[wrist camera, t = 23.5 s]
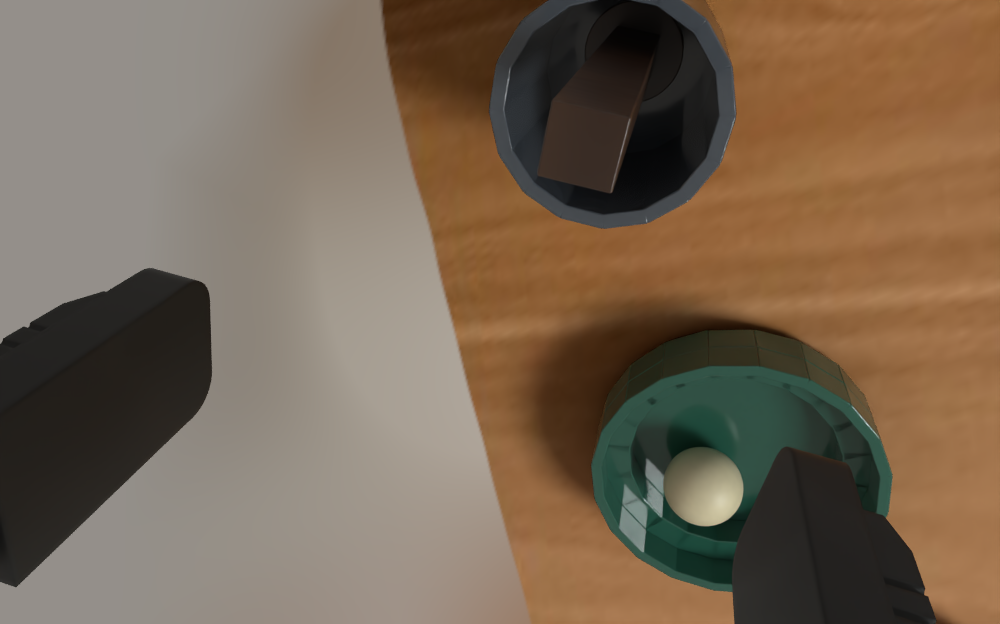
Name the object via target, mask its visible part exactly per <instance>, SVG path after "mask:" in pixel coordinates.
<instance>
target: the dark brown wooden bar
mask: <svg viewBox="0 0 1000 624" xmlns="http://www.w3.org/2000/svg"><path fill="white" fill-rule="evenodd" d="M683 51H684V40H683V34H682V31H681V28H680V25H679V23H678V21H676V20H675V19H674V18H672V17H671V16H670V15H668V14H667V13H666V12H664V11H663V10H662V9H660V8H659V7H657V6H654V5H649V4H644V3H640V2H635V1H630V0H625V1H622V2H619V3H617V4H615V5H614V6H612V7H610V8H609V9H608V10H607V11H605V12H604V13H603V14H602V15H601V16H600V17H599V18H598V19H597V20H596V22H595V23H594V24H593V26H592V28H591V30H590V32H589V34H588V37H587V41H586V45H585V63H584V64H583V65H582V67H581V68H580V69H579V70H578V71H577V72H576V73H575V75H574V76H573V77H572V78H571V79H570V80H569V81H568V83H567V84H566V85H565V86H564V87H563V88H562V89H561V91H560V92H559V93H558V94H557V95H556V96H555V97H554V98H553V100H552V102H551V107H550V112H549V117H548V122H547V127H546V131H545V136H544V141H543V146H542V151H541V156H540V161H539V166H538V171H537V175H538V176H541V177H545V178H549V179H553V180H557V181H561V182H565V183H569V184H573V185H577V186H582V187H586V188H590V189H594V190H598V191H602V192H606V193H612V192H613V189H614V186H615V183H616V180H617V177H618V174H619V171H620V168H621V165H622V162H623V159H624V155H625V152H626V149H627V146H628V143H629V140H630V137H631V134H632V131H633V128H634V125H635V122H636V119H637V116H638V113H639V110H640V106H641V103H642V102H643V101H646V100H649V99H652V98H654V97H655V96H657V95H659V94H660V93H662V92H663V91H664V90H665V89H666V88H667V87H668V86H669V85H670V84H671V83H672V82H673V80H674V79H675V77H676V76H677V74H678V71H679V69H680V66H681V63H682V59H683Z"/></svg>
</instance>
